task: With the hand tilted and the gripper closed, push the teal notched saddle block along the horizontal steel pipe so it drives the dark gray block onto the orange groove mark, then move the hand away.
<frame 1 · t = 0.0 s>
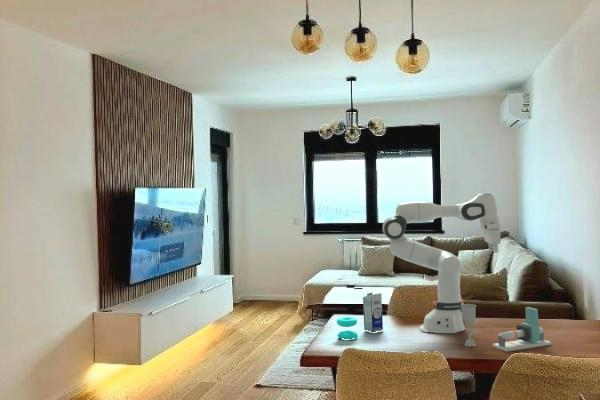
hand: (493, 251, 280), 39 cm above the table, tool pointing down, fingers open, 8 cm apart
dark gray block: (523, 333, 247), point 5 cm above the table, slide at 1.0 cm
pipe stand: (521, 345, 246), on the table
donuts: (347, 339, 272), on the table
teal notched saddle block: (529, 324, 248), point 9 cm above the table, slide at 5.0 cm
chalice: (470, 345, 251), on the table
milk carton: (373, 332, 284), on the table
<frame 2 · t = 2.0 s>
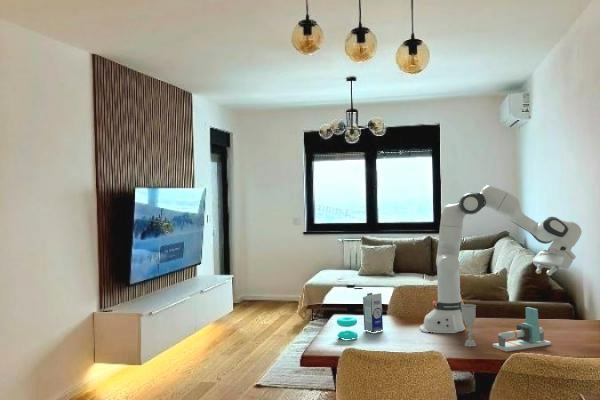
hand: (542, 273, 261), 29 cm above the table, tool tilted 45°, fingers open, 5 cm apart
nothing on the table moved.
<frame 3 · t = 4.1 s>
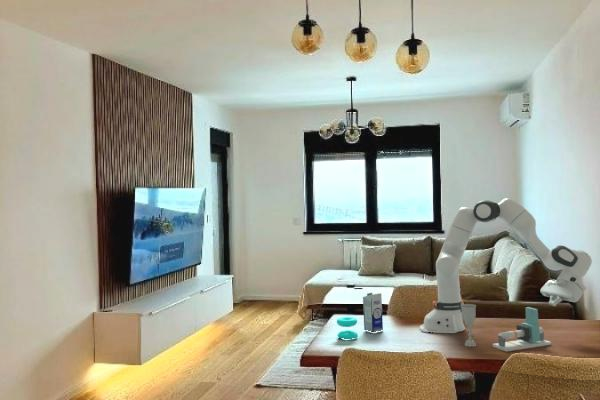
hand: (551, 304, 252), 16 cm above the table, tool tilted 45°, fingers closed
nothing on the table moved.
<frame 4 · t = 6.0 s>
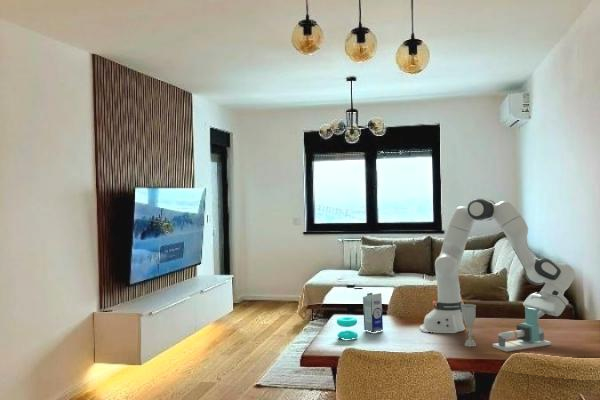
hand: (533, 318, 249), 11 cm above the table, tool tilted 45°, fingers closed, pressing on teal notched saddle block
teal notched saddle block: (529, 324, 248), point 9 cm above the table, slide at 4.7 cm, touching gripper
everything else where it was.
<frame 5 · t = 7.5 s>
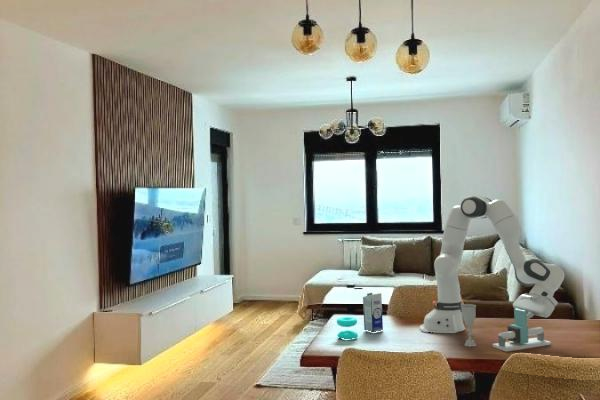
hand: (523, 319, 247), 11 cm above the table, tool tilted 45°, fingers closed, pressing on teal notched saddle block
dark gray block: (513, 334, 245), point 5 cm above the table, slide at -4.0 cm, touching teal notched saddle block
teal notched saddle block: (518, 325, 246), point 9 cm above the table, slide at -1.2 cm, touching gripper, dark gray block
everything else where it was.
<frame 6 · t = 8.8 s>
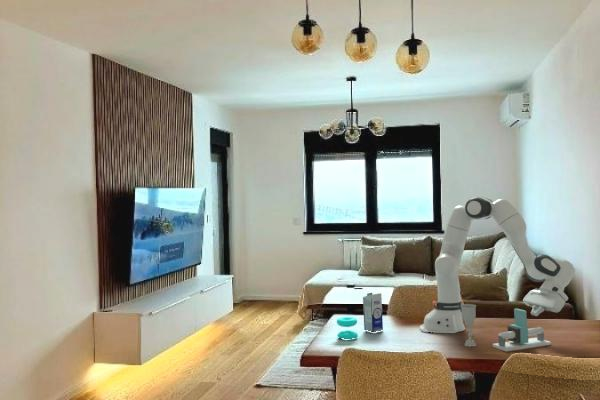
hand: (533, 314, 249), 13 cm above the table, tool tilted 45°, fingers closed
teal notched saddle block: (518, 325, 246), point 9 cm above the table, slide at -1.2 cm, touching dark gray block
everything else where it was.
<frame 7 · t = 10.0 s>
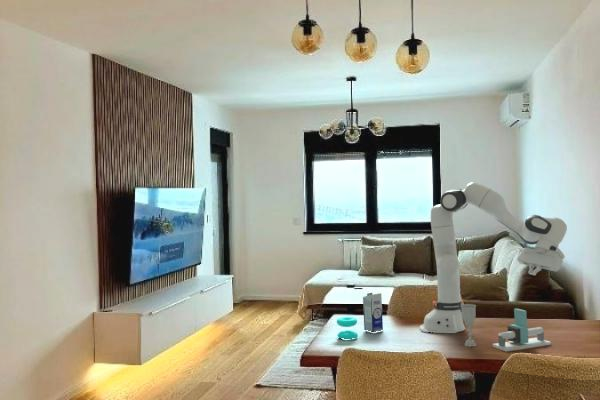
hand: (531, 274, 251), 31 cm above the table, tool tilted 40°, fingers closed
nothing on the table moved.
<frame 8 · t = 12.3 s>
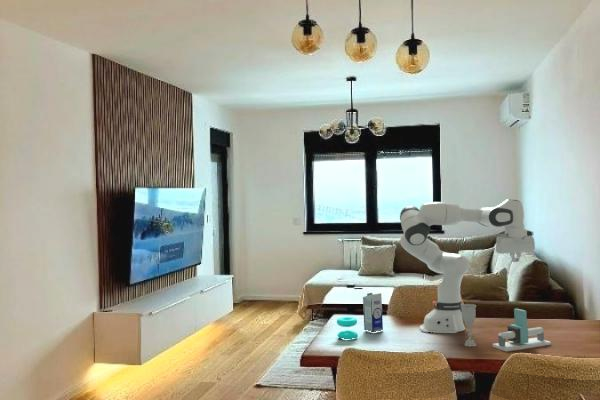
hand: (515, 261, 265), 35 cm above the table, tool pointing down, fingers closed
nothing on the table moved.
at the end: dark gray block slide at -4.0 cm; teal notched saddle block slide at -1.2 cm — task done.
